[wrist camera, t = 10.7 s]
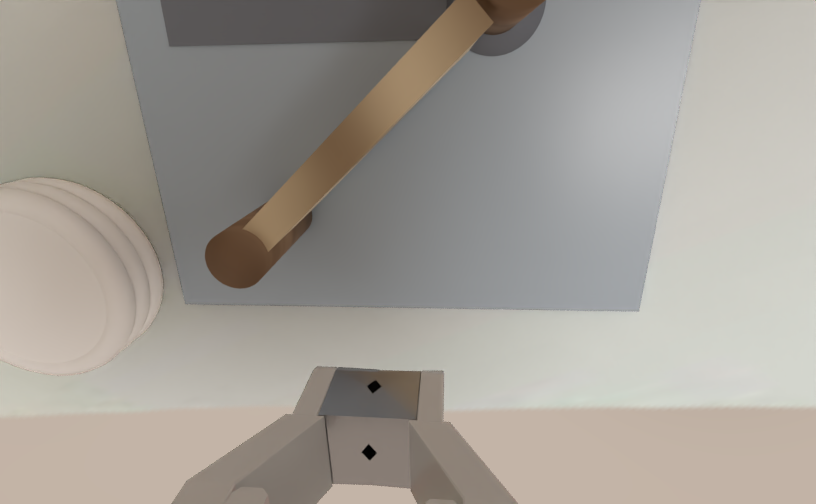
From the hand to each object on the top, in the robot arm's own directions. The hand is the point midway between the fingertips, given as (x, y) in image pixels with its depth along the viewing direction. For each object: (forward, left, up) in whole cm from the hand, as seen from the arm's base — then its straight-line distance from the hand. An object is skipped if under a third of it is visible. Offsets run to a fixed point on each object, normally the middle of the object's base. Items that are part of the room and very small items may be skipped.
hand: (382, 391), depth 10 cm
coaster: (+18, +2, -13) cm, 22 cm away
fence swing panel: (+2, -5, -12) cm, 13 cm away
